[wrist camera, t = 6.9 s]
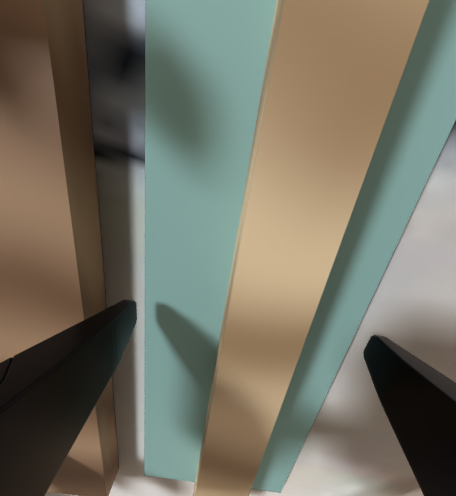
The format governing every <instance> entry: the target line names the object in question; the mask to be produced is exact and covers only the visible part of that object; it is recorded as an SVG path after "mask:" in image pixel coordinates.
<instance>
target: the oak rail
mask: <svg viewBox="0 0 456 496" xmlns="http://www.w3.org/2000/svg"><path fill="white" fill-rule="evenodd" d="M428 2H429V0H277V2H276V8H275V14H274V20H273V26H272V32H271V38H270V43H269V49H268V55H267V61H266V67H265V73H264V79H263V85H262V91H261V96H260V102H259V108H258V114H257V120H256V126H255V132H254V138H253V144H252V149H251V155H250V161H249V167H248V173H247V179H246V185H245V191H244V197H243V202H242V208H241V214H240V220H239V226H238V232H237V238H236V244H235V250H234V255H233V261H232V267H231V273H230V279H229V285H228V291H227V297H226V303H225V308H224V314H223V320H222V326H221V332H220V338H219V344H218V350H217V356H216V361H215V367H214V373H213V379H212V385H211V391H210V397H209V403H208V409H207V414H206V420H205V426H204V432H203V438H202V444H201V450H200V456H199V462H198V467H197V473H196V479H195V486H194V494H193V496H249V494H250V491H251V488H252V485H253V483H254V480H255V477H256V474H257V472H258V469H259V466H260V463H261V461H262V458H263V455H264V452H265V450H266V447H267V444H268V441H269V439H270V436H271V433H272V430H273V428H274V425H275V422H276V419H277V417H278V414H279V411H280V408H281V406H282V403H283V400H284V397H285V395H286V392H287V389H288V386H289V384H290V381H291V378H292V375H293V373H294V370H295V367H296V364H297V362H298V359H299V356H300V354H301V351H302V348H303V345H304V343H305V340H306V337H307V334H308V332H309V329H310V326H311V323H312V321H313V318H314V315H315V312H316V310H317V307H318V304H319V301H320V299H321V296H322V293H323V290H324V288H325V285H326V282H327V279H328V277H329V274H330V271H331V268H332V266H333V263H334V260H335V257H336V255H337V252H338V249H339V246H340V244H341V241H342V238H343V235H344V233H345V230H346V227H347V225H348V222H349V219H350V216H351V214H352V211H353V208H354V205H355V203H356V200H357V197H358V194H359V192H360V189H361V186H362V183H363V181H364V178H365V175H366V172H367V170H368V167H369V164H370V161H371V159H372V156H373V153H374V150H375V148H376V145H377V142H378V139H379V137H380V134H381V131H382V128H383V126H384V123H385V120H386V117H387V115H388V112H389V109H390V106H391V104H392V101H393V98H394V95H395V93H396V90H397V87H398V85H399V82H400V79H401V76H402V74H403V71H404V68H405V65H406V63H407V60H408V57H409V54H410V52H411V49H412V46H413V43H414V41H415V38H416V35H417V32H418V30H419V27H420V24H421V21H422V19H423V16H424V13H425V10H426V8H427V5H428Z"/></svg>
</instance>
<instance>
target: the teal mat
mask: <svg viewBox="0 0 456 496" xmlns="http://www.w3.org/2000/svg"><path fill="white" fill-rule="evenodd" d="M276 2H277V0H145V438H144V475H145V476H152V477H160V478H168V479H176V480H184V481H192V482H195V479H196V473H197V467H198V462H199V456H200V450H201V444H202V438H203V432H204V426H205V420H206V414H207V409H208V403H209V397H210V391H211V385H212V379H213V373H214V367H215V361H216V356H217V350H218V344H219V338H220V332H221V326H222V320H223V314H224V308H225V303H226V297H227V291H228V285H229V279H230V273H231V267H232V261H233V255H234V250H235V244H236V238H237V232H238V226H239V220H240V214H241V208H242V202H243V197H244V191H245V185H246V179H247V173H248V167H249V161H250V155H251V149H252V144H253V138H254V132H255V126H256V120H257V114H258V108H259V102H260V96H261V91H262V85H263V79H264V73H265V67H266V61H267V55H268V49H269V43H270V38H271V32H272V26H273V20H274V14H275V8H276ZM455 120H456V0H429V2H428V5H427V8H426V10H425V13H424V16H423V19H422V21H421V24H420V27H419V30H418V32H417V35H416V38H415V41H414V43H413V46H412V49H411V52H410V54H409V57H408V60H407V63H406V65H405V68H404V71H403V74H402V76H401V79H400V82H399V85H398V87H397V90H396V93H395V95H394V98H393V101H392V104H391V106H390V109H389V112H388V115H387V117H386V120H385V123H384V126H383V128H382V131H381V134H380V137H379V139H378V142H377V145H376V148H375V150H374V153H373V156H372V159H371V161H370V164H369V167H368V170H367V172H366V175H365V178H364V181H363V183H362V186H361V189H360V192H359V194H358V197H357V200H356V203H355V205H354V208H353V211H352V214H351V216H350V219H349V222H348V225H347V227H346V230H345V233H344V235H343V238H342V241H341V244H340V246H339V249H338V252H337V255H336V257H335V260H334V263H333V266H332V268H331V271H330V274H329V277H328V279H327V282H326V285H325V288H324V290H323V293H322V296H321V299H320V301H319V304H318V307H317V310H316V312H315V315H314V318H313V321H312V323H311V326H310V329H309V332H308V334H307V337H306V340H305V343H304V345H303V348H302V351H301V354H300V356H299V359H298V362H297V364H296V367H295V370H294V373H293V375H292V378H291V381H290V384H289V386H288V389H287V392H286V395H285V397H284V400H283V403H282V406H281V408H280V411H279V414H278V417H277V419H276V422H275V425H274V428H273V430H272V433H271V436H270V439H269V441H268V444H267V447H266V450H265V452H264V455H263V458H262V461H261V463H260V466H259V469H258V472H257V474H256V477H255V480H254V483H253V485H252V488H251V489H254V490H262V491H270V492H278V493H281V491H282V488H283V486H284V484H285V482H286V480H287V478H288V476H289V474H290V471H291V469H292V467H293V465H294V463H295V461H296V459H297V457H298V454H299V452H300V450H301V448H302V446H303V444H304V442H305V440H306V437H307V435H308V433H309V431H310V429H311V427H312V425H313V423H314V420H315V418H316V416H317V414H318V412H319V410H320V408H321V405H322V403H323V401H324V399H325V397H326V395H327V393H328V391H329V388H330V386H331V384H332V382H333V380H334V378H335V376H336V374H337V371H338V369H339V367H340V365H341V363H342V361H343V359H344V357H345V354H346V352H347V350H348V348H349V346H350V344H351V342H352V340H353V337H354V335H355V333H356V331H357V329H358V327H359V325H360V323H361V320H362V318H363V316H364V314H365V312H366V310H367V308H368V305H369V303H370V301H371V299H372V297H373V295H374V293H375V291H376V288H377V286H378V284H379V282H380V280H381V278H382V276H383V274H384V271H385V269H386V267H387V265H388V263H389V261H390V259H391V257H392V254H393V252H394V250H395V248H396V246H397V244H398V242H399V240H400V237H401V235H402V233H403V231H404V229H405V227H406V225H407V223H408V220H409V218H410V216H411V214H412V212H413V210H414V208H415V205H416V203H417V201H418V199H419V197H420V195H421V193H422V191H423V188H424V186H425V184H426V182H427V180H428V178H429V176H430V174H431V171H432V169H433V167H434V165H435V163H436V161H437V159H438V157H439V154H440V152H441V150H442V148H443V146H444V144H445V142H446V140H447V137H448V135H449V133H450V131H451V129H452V127H453V125H454V122H455Z"/></svg>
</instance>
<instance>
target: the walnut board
mask: <svg viewBox="0 0 456 496" xmlns="http://www.w3.org/2000/svg"><path fill="white" fill-rule="evenodd" d="M105 309H106V296H105V283H104V270H103V257H102V245H101V232H100V219H99V206H98V194H97V181H96V168H95V155H94V143H93V130H92V117H91V104H90V92H89V79H88V66H87V53H86V41H85V28H84V15H83V2H82V0H0V363H1V362H2V361H4V360H6V359H8V358H11V357H12V358H13V357H14V356H15V355H16V354H18V353H20V352H22V351H24V350H26V349H28V348H30V347H32V346H34V345H36V344H38V343H40V342H42V341H44V340H46V339H48V338H50V337H52V336H54V335H56V334H58V333H60V332H62V331H64V330H65V329H67V328H69V327H71V326H73V325H75V324H77V323H79V322H81V321H83V320H85V319H87V318H89V317H91V316H93V315H95V314H97V313H99V312H101V311H103V310H105ZM118 469H119V462H118V449H117V436H116V423H115V411H114V398H113V385H112V376H111V378H110V380H109V382H108V384H107V385H106V387H105V389H104V391H103V392H102V394H101V396H100V398H99V400H98V401H97V403H96V405H95V407H94V409H93V410H92V412H91V414H90V416H89V417H88V419H87V421H86V423H85V425H84V426H83V428H82V430H81V432H80V433H79V435H78V437H77V439H76V441H75V442H74V444H73V446H72V448H71V450H70V451H69V453H68V455H67V457H66V458H65V460H64V462H63V464H62V466H61V467H60V470H59V471H58V473H57V475H56V477H55V478H54V480H53V482H52V484H51V485H50V487H49V489H48V492H56V493H64V494H72V495H80V496H108V495H109V493H110V490H111V487H112V485H113V482H114V480H115V477H116V474H117V472H118Z"/></svg>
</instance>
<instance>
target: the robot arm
mask: <svg viewBox="0 0 456 496" xmlns="http://www.w3.org/2000/svg"><path fill="white" fill-rule="evenodd" d="M136 320H137V310H136V302H135V301H132V300H122V301H120V302H118V303H116V304H115V305H113V306H111V307H109V308H107V309H105V310H103V311H101V312H99V313H97V314H95V315H93V316H91V317H89V318H87V319H85V320H83V321H81V322H79V323H77V324H75V325H73V326H71V327H69V328H67V329H65V330H64V331H62V332H60V333H58V334H56V335H54V336H52V337H50V338H48V339H46V340H44V341H42V342H40V343H38V344H36V345H34V346H32V347H30V348H28V349H26V350H24V351H22V352H20V353H18V354H16V355H15V356H14V357H13V358H12V357H11V358H8V359H6V360H4V361H2V362H1V363H0V496H45V494H46V492H47V491H48V489H49V487H50V485H51V483H52V482H53V480H54V478H55V476H56V474H57V473H58V471H59V469H60V467H61V466H62V464H63V462H64V460H65V458H66V457H67V455H68V453H69V451H70V450H71V448H72V446H73V444H74V442H75V441H76V439H77V437H78V435H79V433H80V432H81V430H82V428H83V426H84V425H85V423H86V421H87V419H88V417H89V416H90V414H91V412H92V410H93V409H94V407H95V405H96V403H97V401H98V400H99V398H100V396H101V394H102V392H103V391H104V389H105V387H106V385H107V384H108V382H109V380H110V378H111V376H112V375H113V373H114V371H115V369H116V367H117V365H118V363H119V361H120V359H121V357H122V355H123V352H124V350H125V348H126V345H127V343H128V341H129V338H130V336H131V334H132V331H133V329H134V327H135V324H136ZM364 359H365V362H366V364H367V367H368V370H369V373H370V375H371V378H372V381H373V383H374V386H375V389H376V392H377V394H378V397H379V399H380V402H381V404H382V406H383V409H384V411H385V413H386V415H387V417H388V419H389V421H390V424H391V426H392V428H393V430H394V432H395V434H396V437H397V439H398V441H399V443H400V445H401V447H402V449H403V452H404V454H405V456H406V458H407V460H408V462H409V465H410V467H411V469H412V471H413V473H414V475H415V477H416V480H417V482H418V484H419V486H420V488H421V490H422V492H423V495H424V496H456V383H455V382H453V381H452V380H450V379H449V378H447V377H446V376H444V375H443V374H441V373H440V372H438V371H437V370H435V369H434V368H432V367H431V366H429V365H427V364H426V363H424V362H423V361H421V360H420V359H418V358H417V357H415V356H414V355H412V354H411V353H409V352H408V351H406V350H405V349H403V348H401V347H400V346H398V345H397V344H395V343H394V342H392V341H391V340H389V339H388V338H386V337H383V336H377V335H374V336H372V337H371V338H370V340H369V342H368V344H367V346H366V348H365V350H364Z"/></svg>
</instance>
